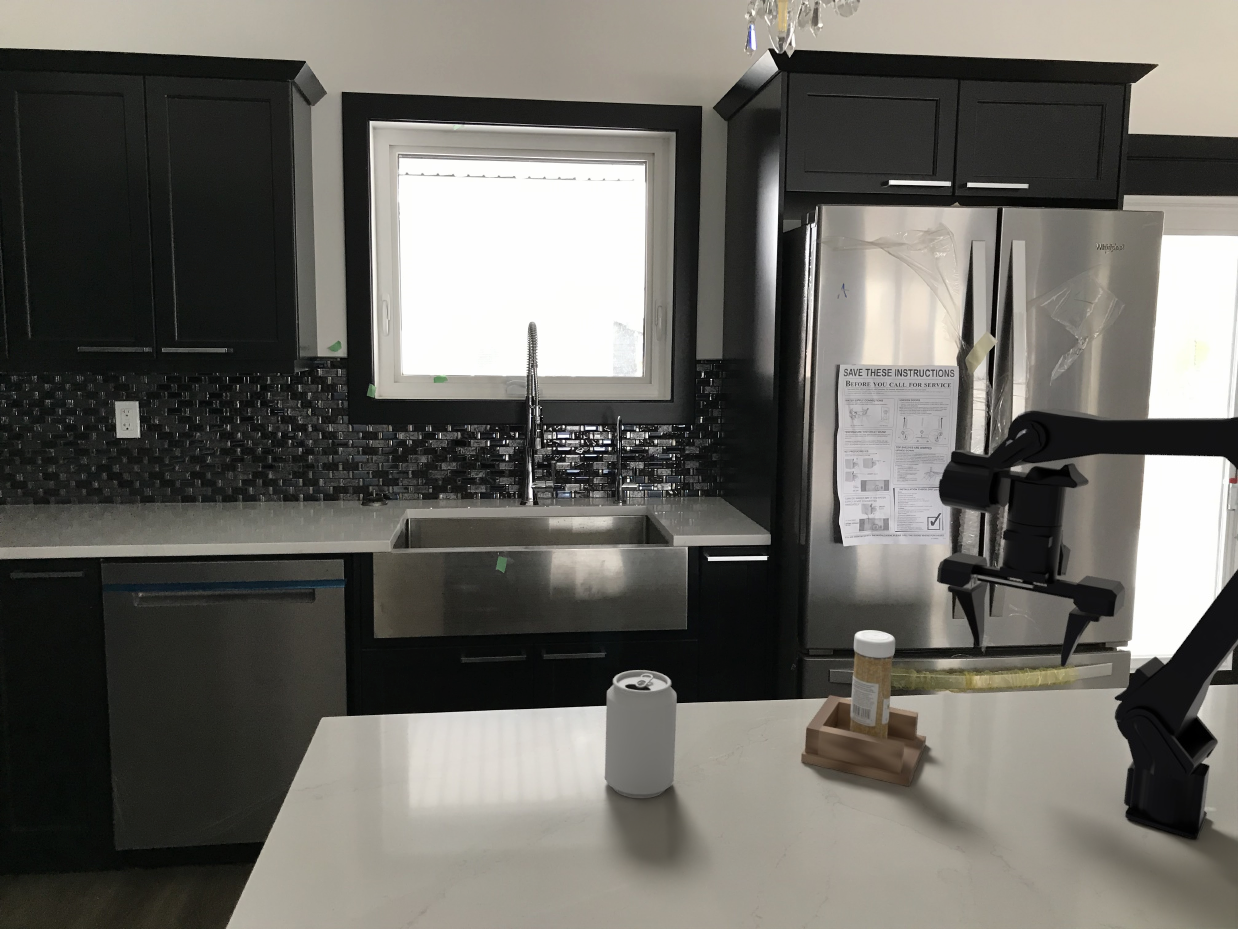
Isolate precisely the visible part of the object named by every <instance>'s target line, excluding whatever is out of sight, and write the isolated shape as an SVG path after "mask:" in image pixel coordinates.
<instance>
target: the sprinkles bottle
mask: <svg viewBox="0 0 1238 929" xmlns="http://www.w3.org/2000/svg"><path fill="white" fill-rule="evenodd" d="M895 648H896V639H895V637H894V636H893V635H892V634H889V633H887V632H885V631H880V630H875V629H874V630H873V629H872V630H871V629H870V630H860V631H857V632H856V633H855V634H854V641H853V650H854V661H853V662H854V663H853V673H852V684H851V698H850V699H851V714H850V716H851V724H850V731H851V732H856V733H860V734H865V735H870V736H875V737H879V738H884V739H887V732H888V721H889V709H890V707H891V705H890V704H891V689H892V688H891V687H892V684H891V680H892V666H893V663H892V662H893V659H894V654H895V651H896V649H895Z"/></svg>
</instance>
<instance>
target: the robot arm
mask: <svg viewBox="0 0 1238 929" xmlns="http://www.w3.org/2000/svg"><path fill="white" fill-rule="evenodd" d="M950 453H951V454H950V460H949V462H948V463H947V464H946V466H945V467H944V470H943V472H942V476H941V478H940V479H939V482H938V494H939V495H938V497H939V500H940V503H941V504H942V505H944V506H945V507H949V508H954V509H955V508H956V509H961V510H966V511H972V512H973V511H974V512H976V513H977V512H978V513H984V514H990V515H995V514H997V513H998V511H1000V509H1001V508H1005V507H1006V506H1007V512H1006V523H1005V529H1004V530H1003V532H1002V533H1003V534H1002V541H1004V542H1003V546H1002V553H1003V554H1002V564H1001V565H1000V566H999V567H995V566H989V565H988V560H987V557H986V556H985V557H984V556H980V555H973V554H970V553H969V554H968V553H962V552H956V553H953V554H952V555H951V554H950V555H949V556H947V557H945V558H944V559H943V560H941V561H940V562H939V564H938V567H937V576H936V582H938V584H943V585H947V592H948V593H952V594H954V595H955V597H956V599H957V600H958V603H959V605H960V606H961V608H962V611H963V613H964V616H965V617H966V618H965V619H966V620H967V624H968V626H969V629H970V632H971V635H972V637H973V640H974V644H975V646H976V647H978V648H981V647H982V646H983V643H984V637H985V612H986V611H985V607H986V606H985V605H986V603H985V598H986V595H987V589H988V586H989V584H992V585H998V586H1003V587H1007V588H1008V587H1009V588H1013V589H1018V590H1023V591H1028V592H1034V593H1039V594H1044V595H1050V596H1053V597H1059V598H1065V599H1068V600H1073V602H1072V604H1074V606H1075V607H1073V608H1072V609H1071V610H1070V611H1069V613H1068V616H1067V617H1068V618H1067V622H1066V627H1065V632H1064V637H1063V642H1062V648H1061V652H1060V666H1061V667H1062V668H1065V667H1067V665H1068V663H1069V662H1070V660H1071V657H1072V655H1073V653H1074V651H1075V650H1076V647H1077V645H1078V643H1079V641H1080V639H1081V638H1082V636H1083V633H1085V630H1086V629H1087V628H1088V626H1089V625H1090V623H1091V622H1092V623H1099V622H1101V620H1103V619H1104V618H1105V617H1106V618H1108V617H1109V618H1112V617H1115V616H1116V615H1117V614H1118V613H1119V612H1120V611H1121V609H1122V608H1123V607H1124V604H1125V595H1126V587H1125V586H1124V584H1123V583H1122V582H1121V581H1118V580H1113V579H1109V578H1104V577H1103V578H1102V577H1098V576H1091V575H1085V576H1084V577H1083V578H1082V579H1080V580H1079V581H1078V582H1076V581H1071V580H1066V579H1065V580H1064V579H1059V578H1057V577H1064V576H1065V577H1066V575H1067V570H1068V566H1069V561H1070V560H1069V559H1070V557H1071V556H1070V554H1071V548H1069V547H1068V546H1067V545H1066V544H1064V542H1063V540H1064V539H1063V538H1064V534H1063V533H1064V530H1063V523H1064V517H1065V516H1064V514H1065V506H1066V495H1067V488H1070V489H1077V488H1081V487H1084V486H1088V485H1089V479H1088V478H1087V477H1086V476H1084V474H1082V472H1080V470H1078V468H1077V467H1076V464H1075V463H1074V462H1073V463H1067V464H1064V465H1063V466H1061V468H1055V467H1047V466H1040V465H1035V466H1032V467H1031V468H1029V470H1028V471H1026V472H1025V471H1017V470H1012V468H1015V467H1019V466H1025V465H1030V464H1041V463H1049V462H1053V461H1055V462H1056V461H1062V460H1071V459H1075V458H1082V457H1089V456H1096V455H1128V456H1129V455H1130V456H1132V455H1138V456H1169V457H1170V456H1172V457H1173V456H1176V457H1181V456H1182V457H1215V458H1216V457H1218V458H1219V457H1220V458H1225V459H1226V460H1227V461H1228V462H1229V463H1231V464H1232V465H1233V466H1234V468H1236V470H1237V471H1238V416H1232V417H1211V418H1209V417H1202V418H1197V417H1194V418H1188V417H1187V418H1184V417H1183V418H1182V417H1178V418H1176V417H1175V418H1174V417H1170V418H1169V417H1167V418H1166V417H1165V418H1164V417H1162V418H1160V417H1159V418H1157V417H1155V418H1152V417H1149V418H1148V417H1147V418H1145V417H1144V418H1142V417H1140V418H1138V417H1137V418H1128V417H1127V418H1125V417H1124V418H1123V417H1122V418H1119V417H1118V418H1117V417H1116V418H1111V417H1106V416H1100V415H1095V414H1091V413H1088V412H1087V413H1086V412H1082V411H1081V412H1080V411H1075V410H1068V409H1062V408H1056V407H1055V408H1054V407H1053V408H1045V409H1043V408H1042V409H1033V410H1028V411H1023V412H1021V413H1019V414H1018V415H1017V416H1016V417H1015V418H1014V419H1013V420H1012V421H1011V423H1010V425H1009V427H1008V431H1007V437H1005V438H1004V439H1003V441H1002V442H1000V444H999V445H998V446H997V447H996V449H995V450H994V451H993V452H992V453H990V454H983V453H982V454H981V453H975V452H972V451H969V450H965V449H964V450H963V449H957V450H952V451H951V452H950ZM1014 579H1015V580H1014ZM1237 646H1238V568H1237V569H1236V571H1235V572H1234V573H1233V574H1232V576H1231V577H1230V579H1229V580H1228V581H1227V582H1226V584H1225V585H1224V586H1223V588H1222V589H1221V591H1219V593H1218V594H1217V596H1216V597H1215V598H1214V600H1213V601H1212V602H1211V604H1210V605H1209V606H1208V608H1207V610H1206V611H1204V613H1203V614H1202V616H1201V617H1200V618H1199V620H1198V621H1197V623H1196V624H1195V625H1194V627H1193V628H1192V629H1191V631H1190V632H1189V634H1188V635H1187V636H1186V637H1185V639H1184V640H1183V641H1182V643H1181V644H1180V645H1179V647H1178V648H1177V649H1176V651H1175V652H1174V654H1173V655H1172V656H1171V658H1170V659H1169V660H1168V661H1167V662H1166V663H1164V662H1163V661H1162V660H1161V659H1160V658H1158V657H1157V656H1154V657H1152V658H1151V659H1149V660H1147V662H1145V663H1143V664H1142V665H1141V666H1139V667H1138V668H1136V670H1135V671H1134V673H1133V675H1132V676H1131V679H1130V680H1129V682H1128V685H1127V687H1126V689H1124V690H1122V691H1121V692H1119V693H1118V694H1117V695H1115V697H1114V700H1115V701H1116V702H1117V701H1118V702H1119V703H1118V705H1117V707H1116V709H1115V711H1114V720H1115V722H1116V726H1117V729H1118V730H1119V732H1120V734H1121V736H1122V737H1123V738H1124V739H1125V740H1126V741H1127V743H1128V748H1129V751H1130V755H1131V759H1132V761H1131V763H1130V764H1129V766H1128V768H1127V772H1126V773H1127V774H1126V781H1125V791H1124V799H1123V804H1125V806H1127V809H1126V810H1125V814H1124V817H1125V818H1126V819H1128V820H1129V821H1130V820H1131V821H1133V822H1137V823H1140V824H1144V825H1147V826H1150V827H1153V828H1156V829H1160V830H1163V831H1166V832H1169V833H1173V834H1174V835H1175V834H1176V835H1179V836H1181V837H1185V838H1188V839H1191V840H1198V839H1199V837H1200V834H1201V832H1202V828H1203V827H1204V824H1205V821H1206V819H1207V815H1208V812H1207V811H1205V807H1206V800H1207V793H1208V792H1207V791H1208V783H1209V776H1210V765H1209V764H1207V763H1203V762H1204V761H1205V760H1206V759H1208V758H1209V757H1210V756H1211V755H1212V753H1213V751H1214V750H1215V748H1216V747H1217V745H1218V743H1219V740H1218V739H1217V738H1216V737H1215V735H1214V734H1213V733H1212V731H1211V730H1210V729H1209V728H1208V727H1207V726H1206V724H1205V723H1204V722H1203V721H1202V719H1201V718H1200V716H1198V714H1199V712H1200V710H1201V708H1202V706H1203V704H1204V701H1205V700H1206V697H1207V695H1208V694H1207V693H1208V690H1209V687H1210V686H1211V681H1212V680H1213V677H1214V676H1215V674H1216V673H1217V672H1218V670H1219V669H1220V668H1221V667H1222V665H1223V664H1224V662H1225V661H1226V660H1227V659H1228V657H1229V656H1230V655H1231V654H1232V652H1233V651H1234V650H1235V648H1236V647H1237Z"/></svg>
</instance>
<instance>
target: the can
mask: <svg viewBox="0 0 1238 929" xmlns="http://www.w3.org/2000/svg"><path fill="white" fill-rule="evenodd" d="M671 686H672V680H671V679H670V678H669V677H668V676H667V675H664V674H663V673H660V672H657V671H654V670H653V671H651V670H645V669H643V670H641V669H640V670H639V669H638V670H628V671H624V672H621V673H619V674H616V675H615V676H614V678H612V685H611V686H610V688H608V690H606V714H605V715H606V716H605V718H606V720H605V752H604V753H605V754H604V755H605V756H604V757H605V758H604V759H605V760H604V762H605V763H604V780H605V781H606V784H608V786H610V787H611V788H612V789H613V791H615V792H616V793H618V794H619V795H622V796H624V797H627V798H633V799H648V798H649V799H650V798H653V797H657V796H659V795H660V794H662V793H664V792H665V790H667V789H668V788H669V787H671V786H672V784H673V783H674V779H675V758H676V757H675V755H676V754H675V753H676V750H675V749H676V730H677V729H676V727H677V726H676V725H677V724H676V722H677V704H678V703H677V697H678V696H677V692H676V691H675V690H674V689H673V688H672V687H671Z"/></svg>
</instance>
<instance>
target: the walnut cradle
mask: <svg viewBox="0 0 1238 929" xmlns="http://www.w3.org/2000/svg"><path fill="white" fill-rule="evenodd" d="M850 714H851V698H845V697H840V696H837V695H831V694H829V695H828V697H827V698H826V699H825V701H824V702H823V703H822V705H821V706H820V708H819V709H818V711H817V712H816V713H815V715H814V716H813V718H812V719H811V720H810V722H809V723H808V724H807V726H806V728H805V730H806V731H805V745H804V746H805V747H804V749H803V751H802V752H801V760H800V762H801V763H805V764H808V765H809V764H810V765H814V766H818V767H822V768H826V769H832V770H836V771H839V772H845V773H847V774H848V773H849V774H853V775H858V776H862V777H865V778H866V777H867V778H871V779H874V780H878V781H884V782H888V783H891V784H892V783H893V784H896V785H900V786H905V787H910V784H911V781H912V779H913V776H914V774H915V772H916V769H917V767H918V764H919V761H920V759H921V757H922V755H923V752H924V750H925V746H926V742H927V736H925V735H923V734H917V733H918V720H919V712H918V711H912V710H907V709H901V708H898V707H894V706H893V707H892V706H890V709H889V721H888V732H887V739H884V738H879V737H875V736H870V735H865V734H860V733H856V732H851V731H850V724H851V716H850Z"/></svg>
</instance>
